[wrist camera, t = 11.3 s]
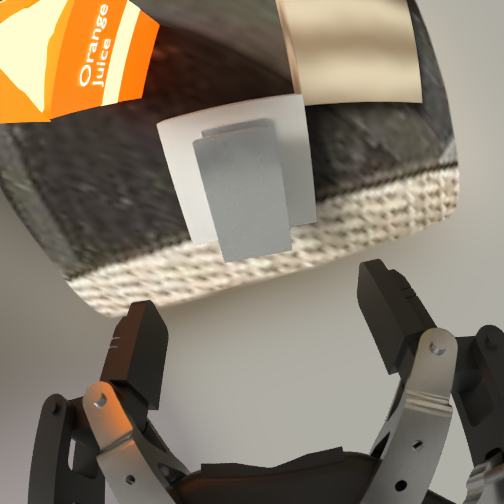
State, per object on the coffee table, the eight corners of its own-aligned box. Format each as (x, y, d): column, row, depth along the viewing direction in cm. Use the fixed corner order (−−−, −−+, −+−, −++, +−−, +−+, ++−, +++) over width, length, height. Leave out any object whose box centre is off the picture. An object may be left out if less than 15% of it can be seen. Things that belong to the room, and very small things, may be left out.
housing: (202, 129, 20) (192, 143, 15) (263, 116, 20) (274, 126, 15) (226, 224, 25) (224, 262, 20) (279, 214, 25) (292, 250, 20)
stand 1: (164, 120, 22) (156, 124, 20) (294, 93, 22) (302, 94, 19) (196, 230, 29) (193, 245, 26) (309, 208, 28) (316, 222, 26)
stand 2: (272, -10, 16) (277, -21, 13) (388, -3, 15) (403, -9, 13) (296, 103, 22) (304, 105, 20) (405, 99, 22) (422, 102, 19)
